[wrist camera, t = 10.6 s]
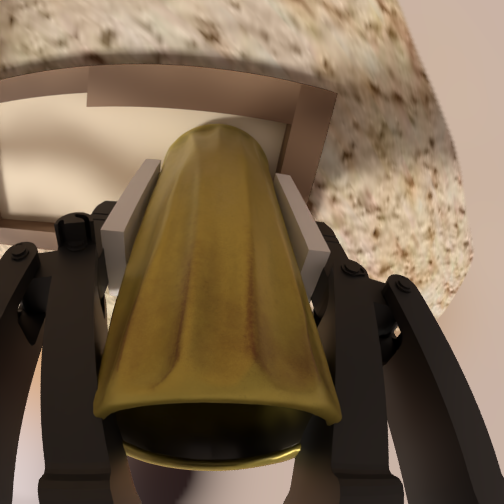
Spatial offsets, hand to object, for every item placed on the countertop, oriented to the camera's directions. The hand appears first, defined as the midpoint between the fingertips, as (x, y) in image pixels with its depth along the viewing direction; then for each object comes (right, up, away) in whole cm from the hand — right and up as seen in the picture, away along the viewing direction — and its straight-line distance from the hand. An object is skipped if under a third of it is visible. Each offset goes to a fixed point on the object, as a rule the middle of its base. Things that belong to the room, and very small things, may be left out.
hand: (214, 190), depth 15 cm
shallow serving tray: (-6, +2, +1) cm, 7 cm away
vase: (0, +1, +2) cm, 3 cm away
